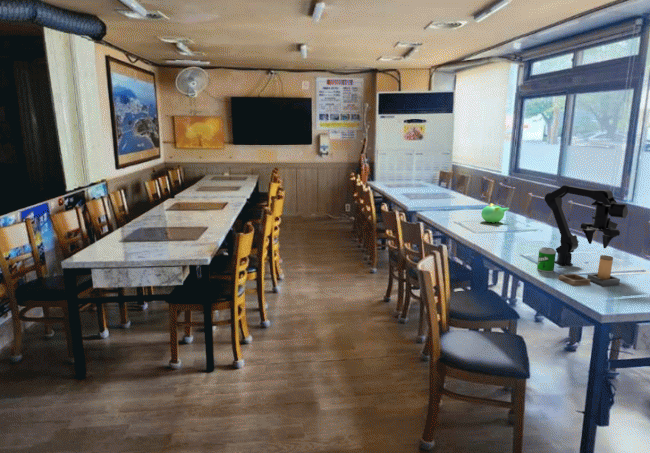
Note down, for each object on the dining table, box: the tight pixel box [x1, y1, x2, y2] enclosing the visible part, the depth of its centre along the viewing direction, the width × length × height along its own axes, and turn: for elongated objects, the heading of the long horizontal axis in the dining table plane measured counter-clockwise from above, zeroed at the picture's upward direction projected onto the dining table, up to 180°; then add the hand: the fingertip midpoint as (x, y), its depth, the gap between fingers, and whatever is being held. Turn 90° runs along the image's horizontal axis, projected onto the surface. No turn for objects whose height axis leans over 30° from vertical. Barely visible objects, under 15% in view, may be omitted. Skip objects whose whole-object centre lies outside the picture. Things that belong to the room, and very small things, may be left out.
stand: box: [557, 273, 592, 287], centre depth 206 cm, size 10×10×3 cm
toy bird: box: [481, 202, 510, 224], centre depth 346 cm, size 18×17×15 cm
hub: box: [586, 273, 624, 288], centre depth 205 cm, size 12×12×4 cm
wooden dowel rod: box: [596, 254, 614, 280], centre depth 204 cm, size 5×5×12 cm
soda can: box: [536, 247, 557, 273], centre depth 222 cm, size 8×8×12 cm
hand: (597, 245), depth 223 cm, fingers open, 9 cm apart
